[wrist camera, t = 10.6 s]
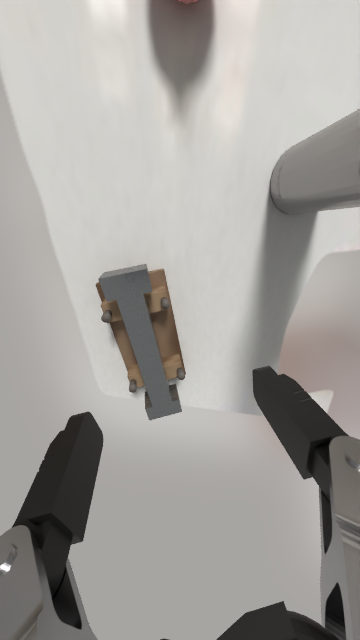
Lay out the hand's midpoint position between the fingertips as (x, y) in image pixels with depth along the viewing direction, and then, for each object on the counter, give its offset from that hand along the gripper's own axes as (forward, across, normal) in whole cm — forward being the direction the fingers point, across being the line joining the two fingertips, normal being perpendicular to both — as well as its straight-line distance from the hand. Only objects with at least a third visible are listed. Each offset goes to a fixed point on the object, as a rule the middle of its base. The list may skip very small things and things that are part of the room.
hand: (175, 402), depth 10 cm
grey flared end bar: (+22, +4, +10) cm, 24 cm away
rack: (+26, +4, +10) cm, 29 cm away
